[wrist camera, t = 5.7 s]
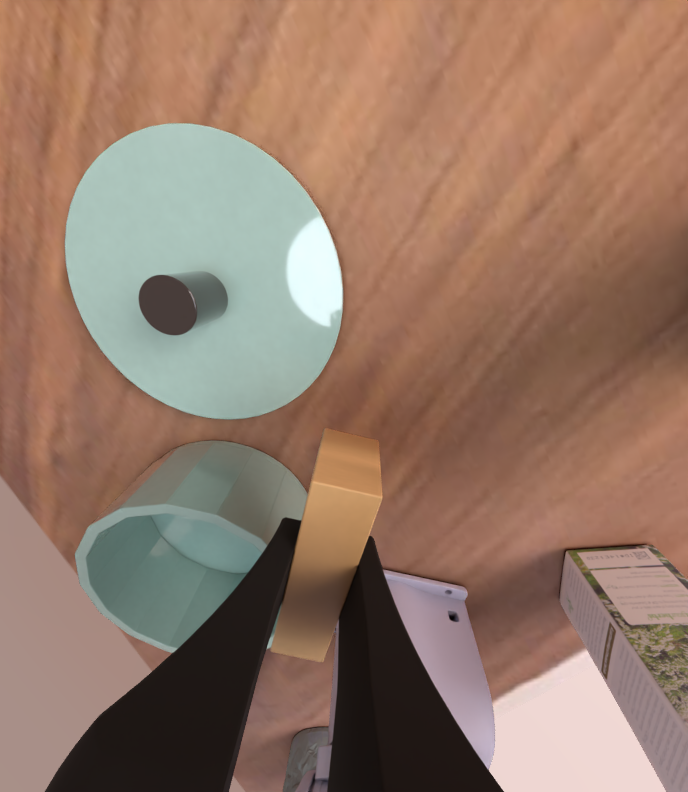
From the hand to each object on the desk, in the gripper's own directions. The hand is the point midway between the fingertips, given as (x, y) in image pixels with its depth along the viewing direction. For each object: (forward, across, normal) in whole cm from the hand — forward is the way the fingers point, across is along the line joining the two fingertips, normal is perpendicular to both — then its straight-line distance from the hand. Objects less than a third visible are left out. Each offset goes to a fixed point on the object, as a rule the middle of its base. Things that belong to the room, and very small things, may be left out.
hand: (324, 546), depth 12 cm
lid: (+8, +8, -6) cm, 13 cm away
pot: (+9, +6, +9) cm, 14 cm away
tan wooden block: (+1, 0, 0) cm, 1 cm away
